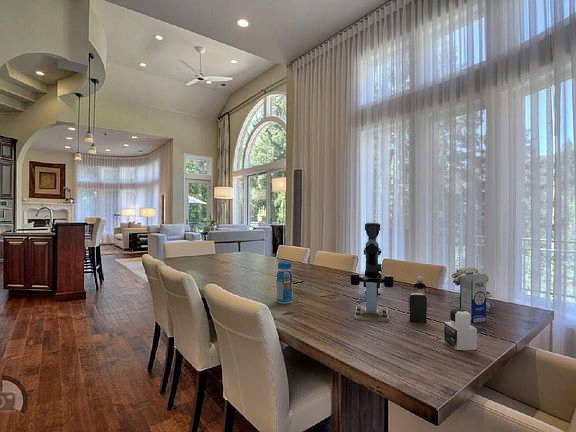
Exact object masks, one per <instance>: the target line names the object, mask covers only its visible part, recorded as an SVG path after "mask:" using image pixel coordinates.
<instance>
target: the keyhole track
mask: <svg viewBox="0 0 576 432" xmlns="http://www.w3.org/2000/svg"><path fill="white" fill-rule="evenodd" d="M355 306H356V307H355V310H354V315H353V319H354V320H363V321H373V322H385V323H390V319H389V310H388V307H383V306H377V313H371V312H366V305H358V304H357V305H355Z"/></svg>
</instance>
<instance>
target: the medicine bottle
mask: <svg viewBox="0 0 576 432" xmlns="http://www.w3.org/2000/svg"><path fill="white" fill-rule="evenodd" d="M449 315H450V316H449V317H450V318H449V321H444V329H443V330H444V334H443V335H444V340H443V341H444V343H445V342H446V343H445V344H446V345H448V346H449V345H450V347H451V348H452V347H453V348H452V349H453V350H455V351H456V350H463V351H477V350H476V349H478V328H476V327H475V326H473V325H471V324H472V323H471V314H470V313H469V312H468V311H465V310H462V309H460V308H454V309H451V310H450V313H449Z"/></svg>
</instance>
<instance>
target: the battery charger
mask: <svg viewBox="0 0 576 432" xmlns="http://www.w3.org/2000/svg"><path fill="white" fill-rule="evenodd" d="M424 294H425V293H424ZM424 294H422V293H416V292H411V293H410V294H408V311H409V313H408V314H409V315H408V316H409V317H408V319H409V322H413V323H414V322H415V323H416V322H417V323H427V322H428V321H427V318H428V316H427V311H428V298H427V296H426V294H425V295H424Z"/></svg>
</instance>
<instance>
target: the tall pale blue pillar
mask: <svg viewBox="0 0 576 432" xmlns="http://www.w3.org/2000/svg"><path fill="white" fill-rule="evenodd" d="M365 291H366V293H365V306H366V312H371V313H377V307H378V305H377V304H378V303H377V302H378V299H377V297H378V294H377V283H369V282H366V287H365Z"/></svg>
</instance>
